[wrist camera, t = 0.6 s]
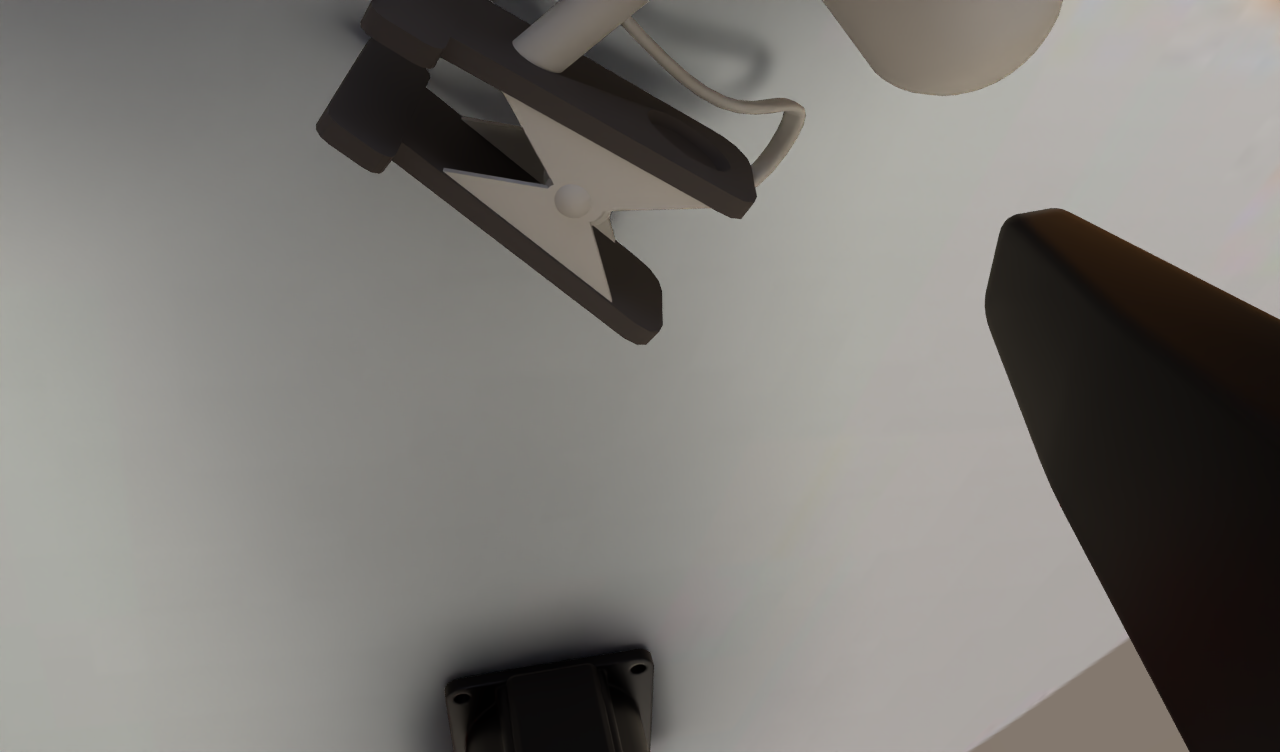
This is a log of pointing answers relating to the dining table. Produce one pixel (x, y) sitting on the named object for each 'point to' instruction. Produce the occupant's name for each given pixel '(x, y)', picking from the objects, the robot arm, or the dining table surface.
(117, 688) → the dining table surface
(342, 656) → the dining table surface
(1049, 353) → the robot arm
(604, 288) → the clip-on lamp
